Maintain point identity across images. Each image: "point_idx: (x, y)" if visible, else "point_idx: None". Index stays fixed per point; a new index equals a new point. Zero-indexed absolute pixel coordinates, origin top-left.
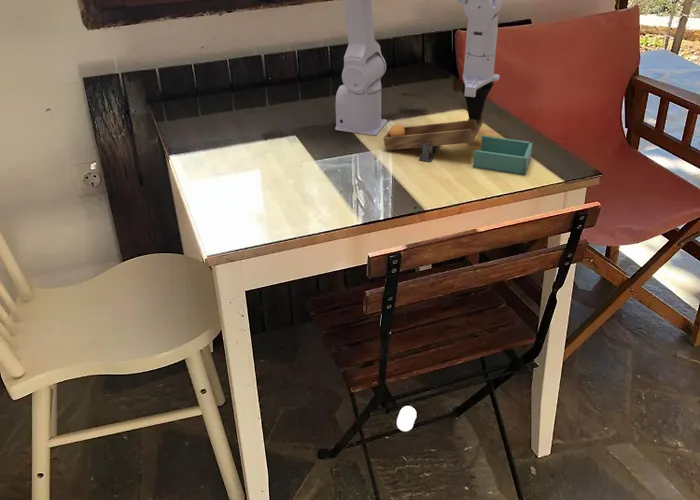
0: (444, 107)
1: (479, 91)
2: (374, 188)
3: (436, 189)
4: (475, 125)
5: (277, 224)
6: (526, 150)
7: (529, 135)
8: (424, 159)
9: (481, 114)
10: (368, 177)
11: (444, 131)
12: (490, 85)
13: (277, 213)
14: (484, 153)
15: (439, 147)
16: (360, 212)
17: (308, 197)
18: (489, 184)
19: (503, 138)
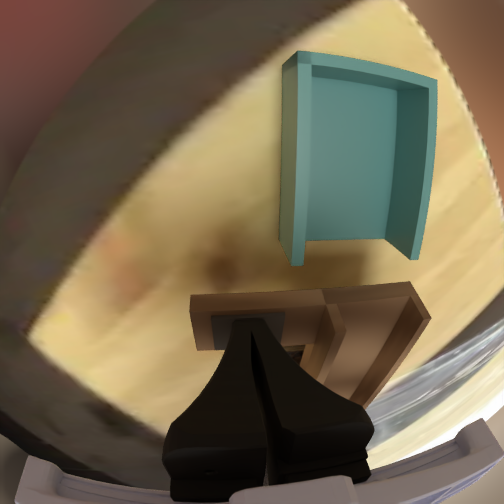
0: (49, 376)
1: (364, 448)
2: (454, 365)
3: (470, 281)
4: (339, 316)
5: (496, 390)
6: (382, 75)
7: (82, 114)
8: None
9: (248, 328)
10: (423, 388)
11: (386, 376)
12: (266, 451)
13: (480, 403)
14: (424, 224)
15: (288, 347)
16: (501, 345)
17: (459, 404)
18: (454, 177)
19: (298, 177)
